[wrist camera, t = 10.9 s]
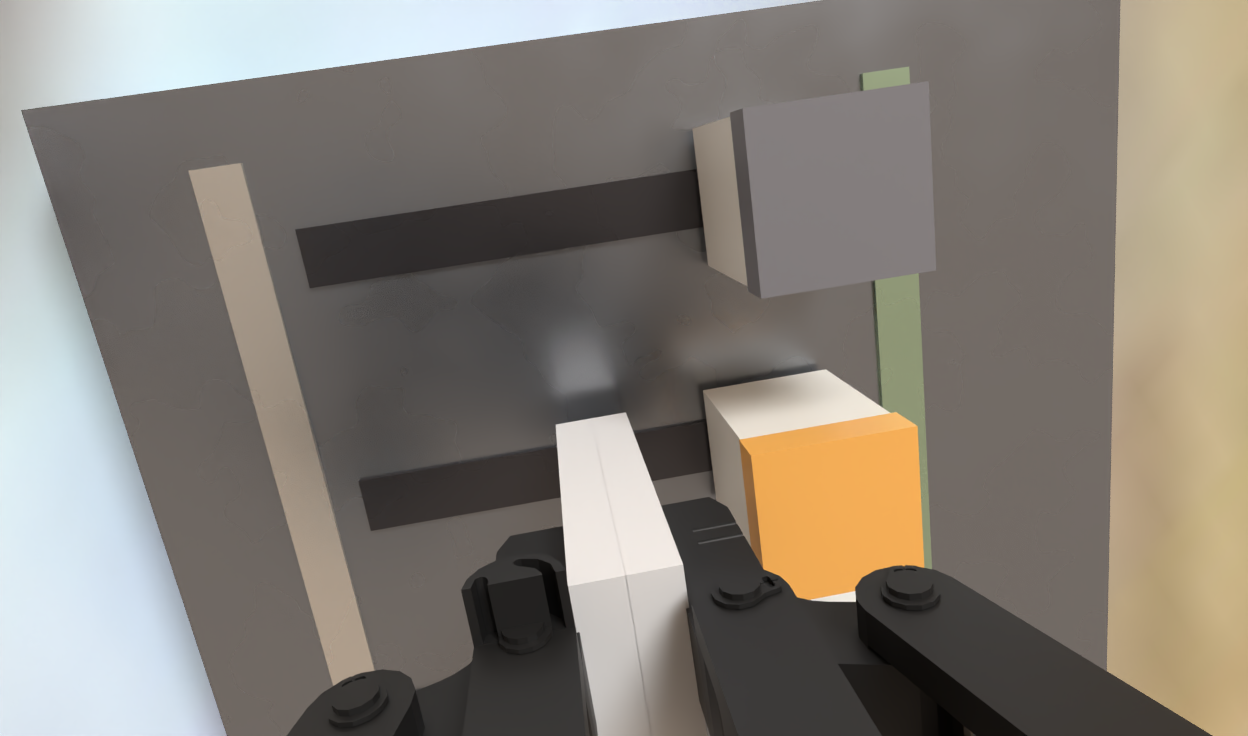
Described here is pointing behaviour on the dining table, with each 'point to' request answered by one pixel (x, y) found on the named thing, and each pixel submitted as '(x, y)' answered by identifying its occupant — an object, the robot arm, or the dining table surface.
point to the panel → (576, 312)
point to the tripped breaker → (817, 479)
